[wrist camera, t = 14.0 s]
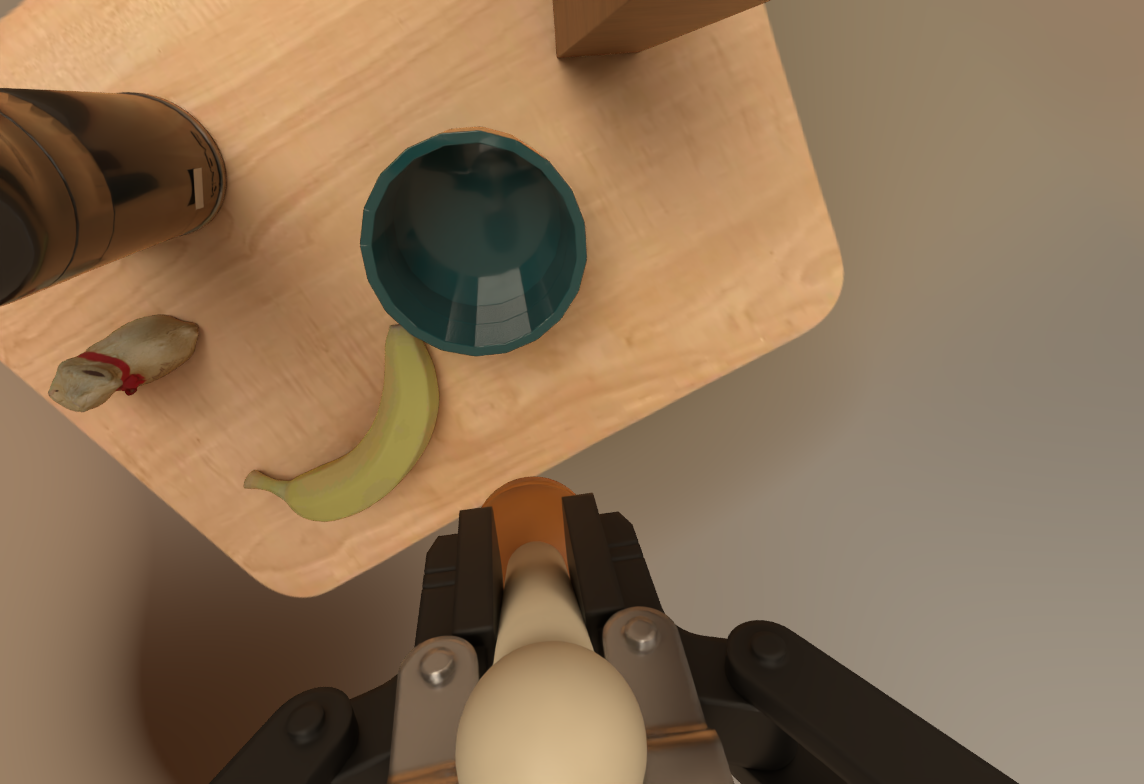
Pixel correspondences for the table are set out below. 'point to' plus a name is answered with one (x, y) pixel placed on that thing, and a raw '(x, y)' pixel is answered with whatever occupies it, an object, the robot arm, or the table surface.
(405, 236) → the pot
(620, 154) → the table surface
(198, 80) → the table surface
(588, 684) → the drumstick
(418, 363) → the banana
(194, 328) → the chocolate bunny
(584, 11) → the stand
